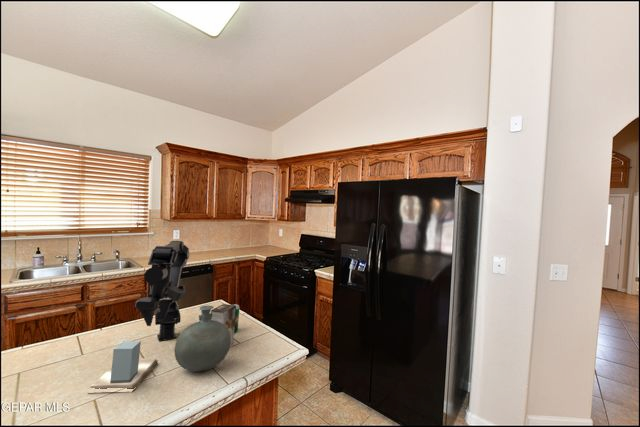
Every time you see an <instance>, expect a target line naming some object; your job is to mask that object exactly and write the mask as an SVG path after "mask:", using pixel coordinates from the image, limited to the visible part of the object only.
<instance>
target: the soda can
mask: <svg viewBox="0 0 640 427" xmlns="http://www.w3.org/2000/svg"><path fill="white" fill-rule="evenodd" d="M235 305H236V314H235V328H234V334H235V333H237V332H238V330H239V320H240V319H239V318H240V309H241V308H240V305H239V304H235Z"/></svg>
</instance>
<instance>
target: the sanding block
mask: <svg viewBox="0 0 640 427" xmlns="http://www.w3.org/2000/svg"><path fill="white" fill-rule="evenodd" d="M112 352H113V353H112V360H111V361H112V362H111V363H112V364H111V368H112V370H111V380H110V383H129V382H130V381H131V380H132V379H133V378H134V376H135V375H136V374H137V373H138V364H139V359H140V352H141V340H130V341H129V340H128V341H127V340H126V341H125V340H123V341H122V342H120V344H118V345H117V346H115V347H114V348H113V351H112Z"/></svg>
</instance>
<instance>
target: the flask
mask: <svg viewBox="0 0 640 427" xmlns="http://www.w3.org/2000/svg"><path fill="white" fill-rule="evenodd" d="M212 309H214V306H213V305H209V304H208V305H203V306H200V307H199V310H200V311H201V314H199V315H198V320H199V321H196V322H194V323H192V324H190V325H188V326H187V327H185V328H184V329H183V330H182V331H181V333H180V334H179V335H178V337H177V338H176V341H175V345H174V357H175V360H176V362H177V363H178V365H179V366H180V367H182V368H183V369H184V370H187V371H190V372H204V371H208V370H211V369H213V368H215V367H217V366H218V365H220V364H221V362H222V361H224V359H225V358H226V357H227V355H228V352H229V351H230V348H231V345H232V344H231V337H230V333H229V330H228V328H227V327H226V326H225V325H224V324H223V323H221V322H219V321H214V320H211V319H212V313H211V310H212ZM230 344H231V345H230Z"/></svg>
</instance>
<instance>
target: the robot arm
mask: <svg viewBox="0 0 640 427" xmlns="http://www.w3.org/2000/svg"><path fill="white" fill-rule="evenodd" d="M189 259H190V248H189V247H188V246H186V245H185V244H184V241H183V240H171V241H170V242H169V243H168V244H165V245H157V246H155V247H154V248H153V249H152V251H151V254H150V257H149V259H148V262H147V266H151V267H149V268H147V270H146V271H145V273H144V275H143V278H144V281H145V282H146V283H148V284H149V286H151V291H150V293H148V294H147V296H144V297H141V298H138V299H137V300H136V301H135V306H134V308H136V309H137V310H139V312H140V314H141V315H142V318H143V320H144V322H145V324H146V326H147V327H151V326H152V323H153V319H154V321H155V322H154V325H155V326H159V330H158V331H159V332H158V333H159V334H156V337H157V341H159V342H163V341H168V340H173V339H177V335H176V333H175V330H176V325H178V324H179V323H181V317H182V316H181V312H180V309H179V308H180V307H179V304H178V302H179V300H182V298H183V296H184V295H185V294H186V293H187V292H186V291H187V290H186V286H185V285H183V284H180V281H181V280H180V279H181V275H182V270H183V268H185V266H186V265H187V263H188V260H189ZM155 311H156V312H155Z"/></svg>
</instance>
